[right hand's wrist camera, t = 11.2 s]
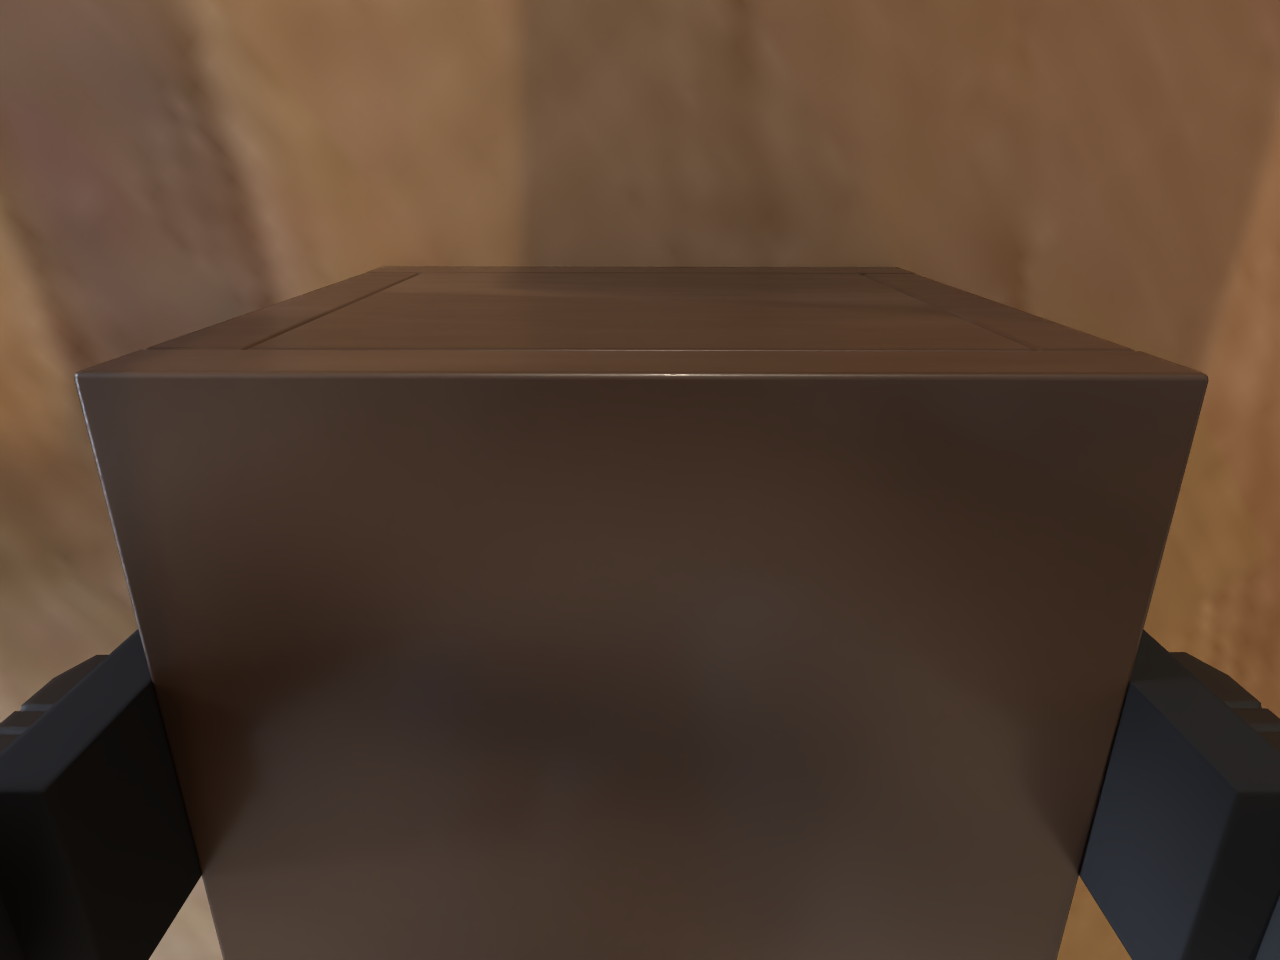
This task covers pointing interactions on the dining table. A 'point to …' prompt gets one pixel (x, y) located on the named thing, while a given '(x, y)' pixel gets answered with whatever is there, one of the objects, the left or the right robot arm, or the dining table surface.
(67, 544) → the dining table surface
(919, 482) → the cabinet
